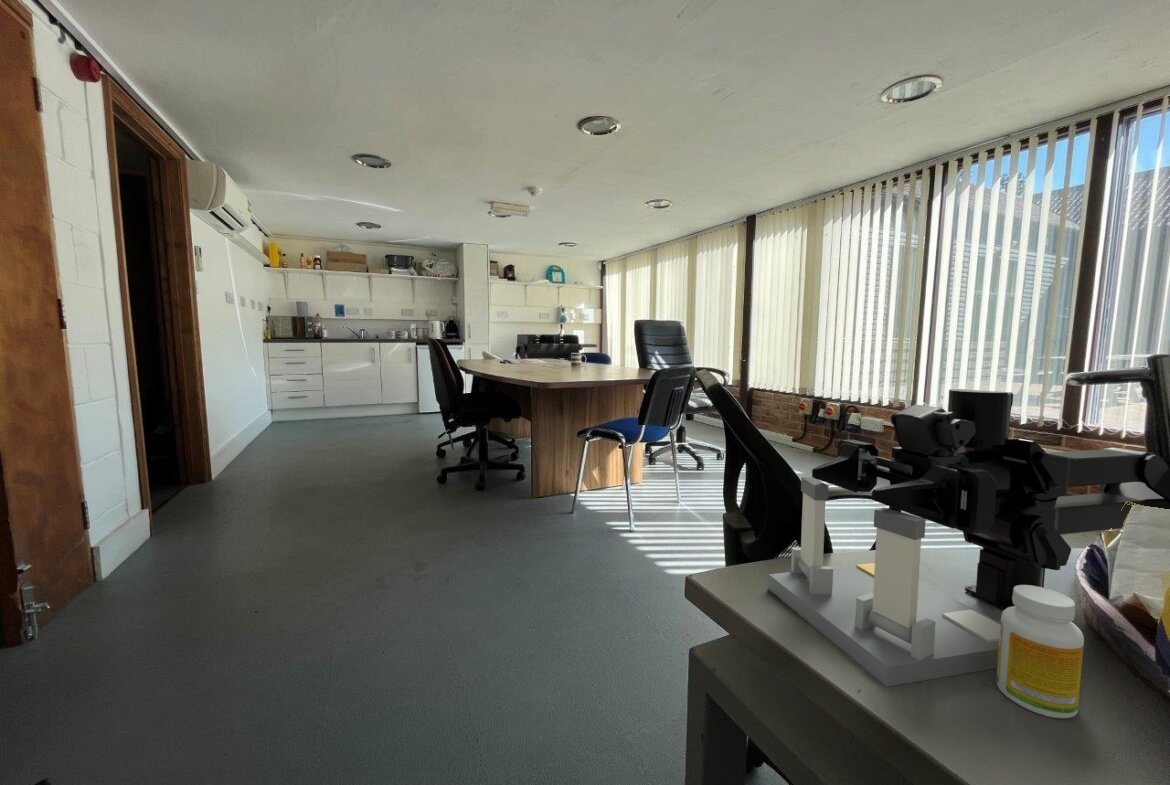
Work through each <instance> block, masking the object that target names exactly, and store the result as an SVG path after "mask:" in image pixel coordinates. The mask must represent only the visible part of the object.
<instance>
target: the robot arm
mask: <svg viewBox="0 0 1170 785" xmlns="http://www.w3.org/2000/svg"><path fill="white" fill-rule="evenodd" d="M947 400H948V402H947V411H946V410H945V408H942V407H938V406H933V405H922V404H912V405H911V406H908V407H906V408H904V409H902V410H899V411H897V412H895V413H892V414H891V415H890V423H891V425H893V429H894V433H895V436H896V440H897V443H898V446H895V447H894V446H892V447H891V458H892V459H894V460H892V459H888V458H884V457H880V456H879V450H878V449H877V447H876V446H875V445H874V444H873V443H868V442H865V441H860V440H856V439H841V440H839V442H838V443H837V456H836V458H834V459H832V460H830V461H827V462H825V463H823V464H820V465H818V466H815V467H814V468H812V470H811V477H813V478H815V479H818V480H819V481H821V482H823V483H827V484H830V485H832V486H835V487H839V488H841V489H843V490H847V491H850V492H853V493H859V492H860V493H870V492H871V491H872V492H871V500H872V501H874V502H876V503H879V504H881V505H885V506H888V507H890V508H893V509H897V510H898V511H901V512H903V513H906V514H909V515H913V516H916V517H920V518H923V519H926V521H929V522H933V523H935V524H938V525H941V526H944V527H947V528H949V529H953V530H955V529H956V530H958V531H961V532H962V535H963V538H964V542H966V543H969V544H973V545H976V546H978V547H981V549H979V555H978V556H979V560H978V562H977V568H976V569H977V570H976V579H975V580H976V581H975V582H976V583H975V584H970V585H965V586H964V590H965V592H968V593H970V594H971V595H974V596H975V597H978V598H979V599H982V600H984V601H985V602H988V603H990V604H991V605H994V606H996V607H998V608H1000V609H1002V610H1003V611H1004V610H1005V609H1006V608H1008V607H1012V606H1015V605H1014V604H1013V600H1012V596H1013V589H1014V587H1015V586H1018V585H1031V586H1037V587H1042V588H1045V575H1046V570H1053V571H1061V567H1065V566H1066V565H1067V563H1068V561H1069V559H1070V555H1071V552H1072V548H1071V547H1070V545H1069V544H1068V543H1067V541H1066V540H1065V539H1064V538H1063V536H1065V535H1072V534H1073V535H1075V534H1085V533H1092V532H1094V533H1095V532H1102V531H1113V530H1121V529H1122V526H1123V522H1124V520H1125V518H1126V516H1127V514H1128V513H1129V511H1130V509H1131V507H1132V506H1131V505H1132V504H1131V503H1130V505H1127V504H1129V502H1133V503H1136V504H1140V505H1144V506H1150V507H1158V508H1164V509H1170V467H1169V466H1168V465H1167V463H1166V462H1165V460H1164V459H1163V458H1162V457H1161V456H1160V455H1156V454H1154V452H1147V451H1143V450H1141V451H1140V450H1135V449H1129V448H1123V447H1122V448H1121V447H1116V446H1115V447H1114V446H1113V447H1112V446H1111V447H1109V448H1108V447H1106V448H1103V449H1089V450H1085V449H1084V450H1073V451H1072V450H1071V451H1067V450H1066V451H1053V452H1047V451H1046V450H1045V449H1044V448H1042V447H1041V446H1040V445H1039V444H1038V443H1037V442H1036V441H1034V440H1029V439H1022V438H1017V437H1010V424H1011V413H1012V412H1011V411H1012V407H1013V403H1014V393H1013V392H1008V391H992V390H980V389H967V388H965V389H963V388H950V389H948V399H947ZM962 447H964V449H965V450H962V451H959V449H960V448H962ZM878 478H880V479H883V480H887V481H889V484H890V485H886V486H882V487H878V488H875V487H876V486H877V485H878ZM1098 485H1099V487H1098V489H1099V490H1098V491H1099V492H1100V493H1089V494H1076V495H1075V494H1073V495H1068V491H1069V489H1071V488H1074V487H1083V486H1098ZM874 488H875V489H874ZM1126 501H1129V502H1128V503H1127V504H1125V502H1126ZM1124 504H1125V506H1124ZM1133 505H1134V504H1133ZM1123 506H1124V507H1123ZM1122 507H1123V509H1122ZM1121 509H1122V511H1121ZM1111 528H1112V529H1111ZM1110 529H1111V530H1110ZM1122 530H1123V529H1122Z"/></svg>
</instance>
